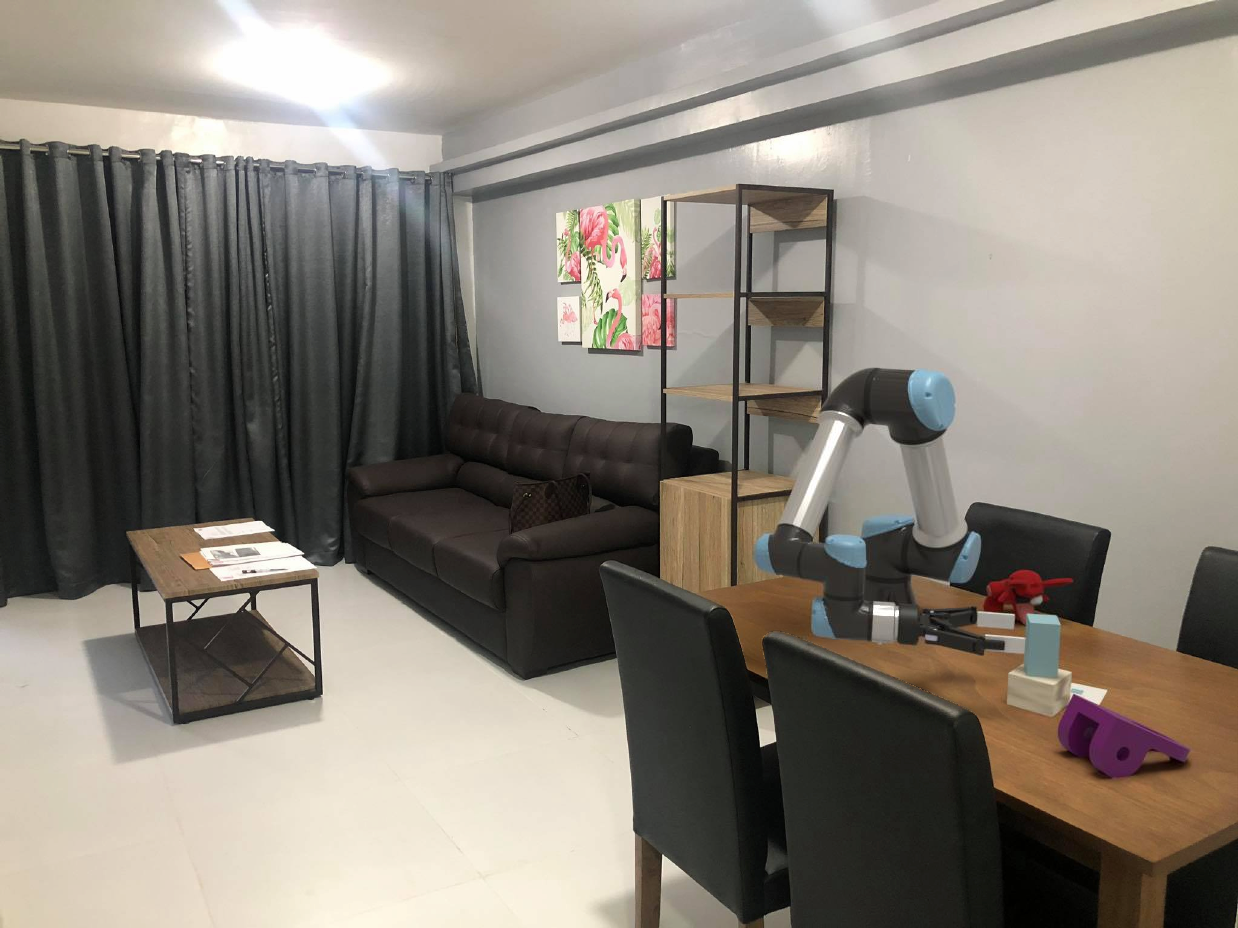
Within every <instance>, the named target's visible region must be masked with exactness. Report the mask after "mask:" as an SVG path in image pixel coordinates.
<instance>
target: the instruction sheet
mask: <svg viewBox="0 0 1238 928" xmlns="http://www.w3.org/2000/svg"><path fill="white" fill-rule="evenodd" d="M1107 692H1108V689H1103V688H1100V687H1099V688H1098V687H1094V686H1089V685H1085V684H1080V683H1075V682H1071V692H1070V700H1071V698H1072V696H1073V694H1075V695H1078V696H1080V697H1082V698H1084V699H1087V700H1089V701H1091V702H1093V703H1096V704H1098V705H1100V704H1101V703H1102V701H1103V699H1104V698H1105V696H1106V694H1107ZM1067 706H1068V705H1067ZM1067 706H1066V707H1067ZM1100 706H1101V705H1100Z"/></svg>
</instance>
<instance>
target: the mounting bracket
mask: <svg viewBox="0 0 1238 928" xmlns="http://www.w3.org/2000/svg"><path fill="white" fill-rule="evenodd" d="M1057 738H1058V741H1059V743H1060V744H1061V747H1063V748H1064V749H1065V750H1067V751H1069V752H1070V753H1071V754H1073V755H1075V756H1077V757H1078V758H1083V757H1089V760H1090V762H1091V763H1092V766H1094V768H1095V769H1097V770H1098V771H1100V772H1102V773H1103V774H1105V775H1106V776H1108V777H1110V778H1112V779H1120V778H1126V777H1127V778H1128V777H1130V776H1132V775H1134V773H1136V772H1137V771H1138V770H1139V768H1140V767H1141V765H1142V764H1143V762H1144V760H1145V758H1146V756H1147V754H1148V752H1149V751H1150V750H1154V751H1157V752H1159V753H1162V754H1164V755H1166V756H1169V757H1170V758H1173V759H1176V760H1177V761H1180V762H1183V763H1184V762H1186V761H1187V758H1188V756H1189V754H1190V752H1191V748H1189V747H1187V746H1186V745H1184V744H1182V743H1180V742H1178V741H1177V740H1175V739H1174V738H1173V739H1172V738H1171V737H1169V736H1166V735H1165V734H1162V733H1161V732H1159V731H1157V730H1154V729H1153V728H1150V727H1148V726H1146V725H1144V724H1142V723H1140V722H1137V721H1135V720H1134V719H1131V718H1129V717H1126V716H1124V715H1122V714H1120V713H1118V712H1116V711H1113V710H1112V709H1109V708H1106V707H1104V706H1102V705H1098V704H1096V703H1093V702H1091V701H1089V700H1087V699H1084V698H1082V697H1080V696H1078V695H1075V694H1073V696H1072V698H1071V700H1070V702H1069V704H1068V706H1066V707H1065V709H1064V712H1063V714H1062V716H1061V719H1060V721H1059V722H1058V726H1057Z"/></svg>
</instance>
